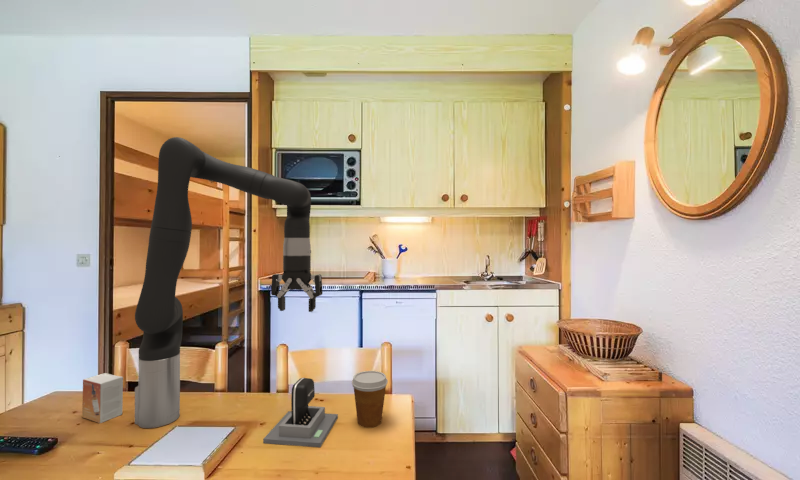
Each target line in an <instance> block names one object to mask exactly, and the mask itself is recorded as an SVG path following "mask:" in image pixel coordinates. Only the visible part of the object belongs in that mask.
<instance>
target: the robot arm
mask: <svg viewBox="0 0 800 480" xmlns="http://www.w3.org/2000/svg"><path fill="white" fill-rule="evenodd" d="M157 165H158V166H157V169H158V170H157V189H156V195H155V200H154V207H153V214H152V220H151V225H150V228H149V229H150V231H149V237H148V247H147V254H146V259H145V260H146V261H145V262H146V263H145V270H144V272H145V273H144V278H143V283H142V286H141V290H140V291H141V292H140V294H139V297H138V301H137V305H136V309H135V310H134V311H135V312H134V321H135V324H136V326H137V327H138V328H139V330H140V331H141V332H143V334H142V335H143V336H142V340H141V343H140V346H139V348H138V385H137V386H135V387H134V425H137V426H138V427H140V428H142V429H154V428H159V427H163V426H165V425H166V426H167V425H169V424H171V423H174V422H175V421H176V420H177V419H179V418H180V413H181V409H180V407H181V403H180V402H181V345H182V340H183V322H184V320H183V319H184V315H183V314H184V311H183V305H182V303H181V301H180V300H179V299H178V298H177V297H176V292H177V291H176V290H177V289H176V288H177V284H178V279H179V276H180V273H181V270H182V267H183V265H184V263H185V260H186V259H187V255H188V252H189V248H190V243H191V237H192V230H193V219H192V212H191V208H190V203H189V202H190V201H189V185H190V181H191V178H195V179H198V180H199V179H200V180H206V181H211V182H215V183H218V184H222V185H225V186H228V187H231V188H233V189H237V190H239V191H242V192H244V193H247V194H250V195H253V196H255V197H258V198H262V199H266V200H273V201H275V202H278V203H280V204H283V205H285V206H286V219H285V220H284V223H283V224H284V225H283V226H284V228H283V229H284V230H283V232H284V233H283V237H284V238H283V247H282V248H283V249H282V250H283V251H282V256H283V257H282V261H283V262H282V270H283V274H280V273H275V274H272V277H271V290H270V294H271V296H275V297H276V298H277V309H279V311H280V312H282V311H283V312H284V311H285V310H286V295H287V293H288V292H289V291H293V290H297V291H304V293H305V294H306V295H307V296H308V297H309V298H308V312H309V313H313V312H314V310H315V309H316V308H317V307H316V306H317V305H316V299H317V298H318V297H320V296H322V295H323V279H322V278H323V277H322V275H321V274H312V273H311V266H312V264H311V263H312V262H311V260H312V259H311V257H312V256H311V254H312V250H311V249H312V247H311V238H310V237H311V236H310V235H311V234H310V233H311V231H310V229H311V226H310V217H311V210H312V209H311V208H312V207H311V206H312V197H311V196H312V195H311V192H310V191H309V189H308V188H307V187H306V186H305V185H304V184H303V183H301V182H298V181H295V180H292V179H287V178H282V177H279V176H276V175H273V174H270V173H268V172H265V171H262V170H259V169H256V168H253V167H249V166H246V165H245V166H244V165H239V164H233V163H230V162H226V161H224V160H222V159H221V160H220V159H218V158H216V157H214V156H212V155H210V154H208V153H206V152H204V151H203V150H202V149H200V148H199V147H198V146H197V145H195V144H194V143H192V142H190V141H189V140H187V139H186V138H183V137H177V136H174V137H171V138H168V139H167V140H166V141H164V142H163V144H162V145H161V146H160V148H159V153H158V164H157ZM282 281H283V283H284V284H283V286H282V287H281V288H280V285H281V284H280V283H281V282H282ZM311 281H312V282H313V283H314V289H313V287H312V285H311V284H310V283H311Z"/></svg>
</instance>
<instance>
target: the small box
mask: <svg viewBox="0 0 800 480" xmlns="http://www.w3.org/2000/svg"><path fill="white" fill-rule="evenodd" d="M123 393H124V377H123V376H121V375H120V376H119V375H114V374H111V373H108V372H104V373H101V374H97V375H94V376H90V377H86V378H83V379H82V406H81V407H82V414H81V417H82V419H83V418H84V419H87V420H90V421H92V422H95V423H98V424H102V423H105V422H106V421H109V420H111V419H114V418H117V417H119V416H121V415H123V404H124V401H123V395H124V394H123Z"/></svg>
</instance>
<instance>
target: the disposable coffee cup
mask: <svg viewBox="0 0 800 480" xmlns="http://www.w3.org/2000/svg"><path fill="white" fill-rule="evenodd" d="M351 385H352V387H353V392H354V401H355V410H356V419H357V424H358V426H360V427H362V428H367V429H369V428H376V427H378V426H379V425H381V424H382V421H383V420H382V419H383V411H384V405H385V395H386V386H387V385H388V378H387V375H386V374H385V373H384V372H381V371H377V370H365V371H360V372H358V373H355V374H354V376H353V379H351Z"/></svg>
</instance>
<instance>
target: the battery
mask: <svg viewBox="0 0 800 480" xmlns="http://www.w3.org/2000/svg"><path fill="white" fill-rule="evenodd" d="M314 381H315V380H313V378H308V377H301V378H299V379H298V380H296V382H295V383H293V385H292V388H291V396H290V399H291V410H290V411H292V424H293V425H308V424H309V423H310V422H311V420H312V417H311V415H310V413H309V410H308V406H309V405H310V404H309V403H311V401H312V400H313V399H314V398H315V396H316V395H315V382H314Z"/></svg>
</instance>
